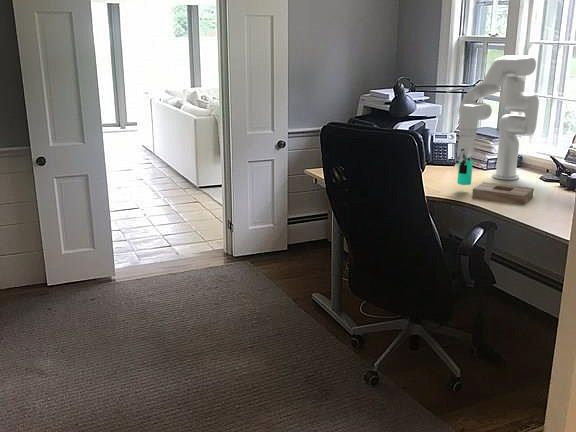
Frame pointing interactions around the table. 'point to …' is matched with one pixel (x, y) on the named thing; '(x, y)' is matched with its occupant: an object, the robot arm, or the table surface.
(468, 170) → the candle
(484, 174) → the table surface
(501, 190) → the wooden socket board
